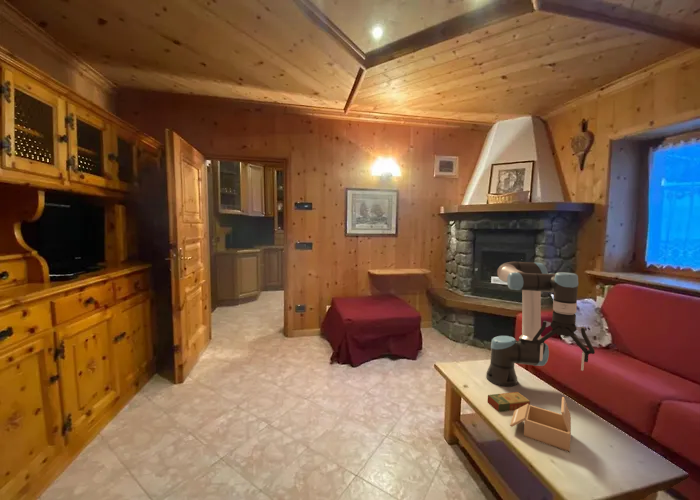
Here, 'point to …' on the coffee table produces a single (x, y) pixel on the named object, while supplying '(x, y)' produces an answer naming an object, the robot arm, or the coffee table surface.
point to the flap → (565, 414)
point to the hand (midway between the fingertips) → (560, 364)
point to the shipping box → (543, 426)
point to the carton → (507, 401)
